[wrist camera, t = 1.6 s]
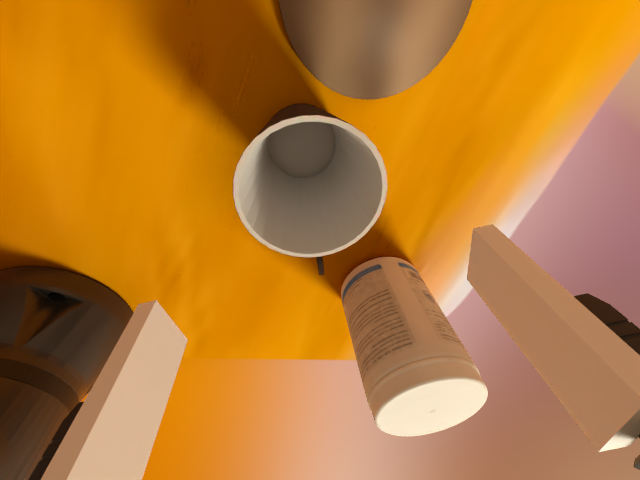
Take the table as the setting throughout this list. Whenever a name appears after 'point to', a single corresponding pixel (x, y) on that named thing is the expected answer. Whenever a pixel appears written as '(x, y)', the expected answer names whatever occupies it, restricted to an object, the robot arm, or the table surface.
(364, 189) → the coffee mug
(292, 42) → the walnut base
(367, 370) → the supplement tub
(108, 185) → the table surface
